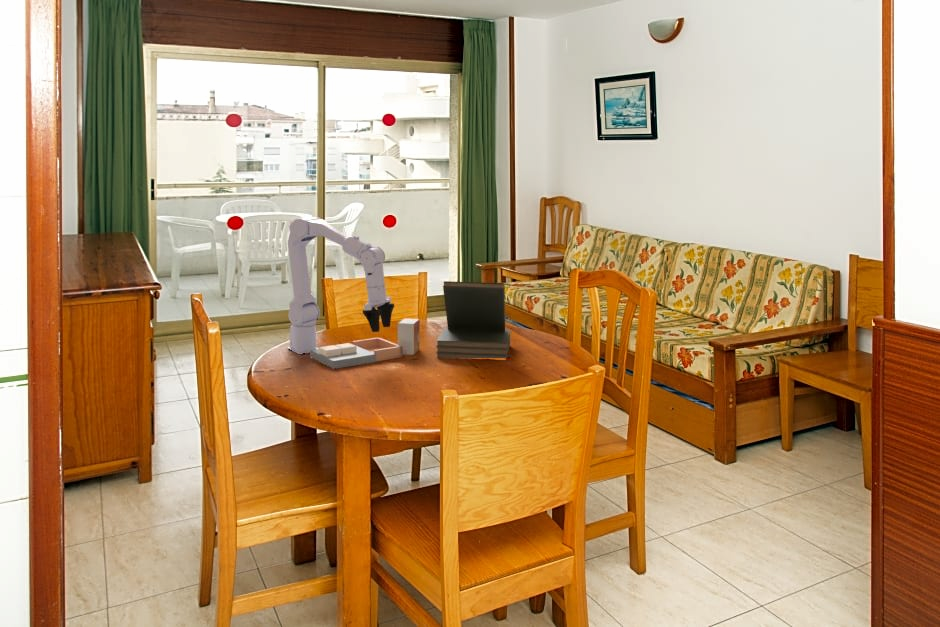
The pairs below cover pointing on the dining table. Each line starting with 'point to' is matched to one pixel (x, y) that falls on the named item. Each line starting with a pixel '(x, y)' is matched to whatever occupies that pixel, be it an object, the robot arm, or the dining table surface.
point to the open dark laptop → (474, 321)
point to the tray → (380, 348)
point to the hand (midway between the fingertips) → (381, 329)
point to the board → (345, 358)
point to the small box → (409, 335)
